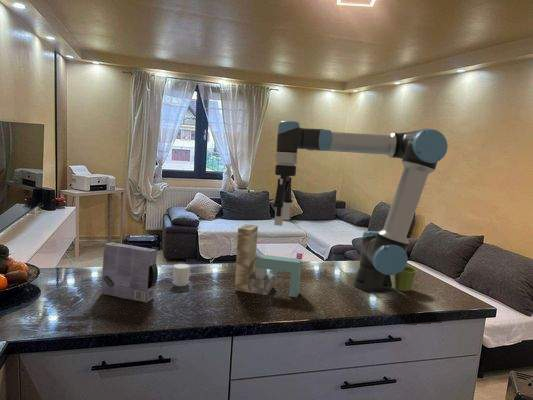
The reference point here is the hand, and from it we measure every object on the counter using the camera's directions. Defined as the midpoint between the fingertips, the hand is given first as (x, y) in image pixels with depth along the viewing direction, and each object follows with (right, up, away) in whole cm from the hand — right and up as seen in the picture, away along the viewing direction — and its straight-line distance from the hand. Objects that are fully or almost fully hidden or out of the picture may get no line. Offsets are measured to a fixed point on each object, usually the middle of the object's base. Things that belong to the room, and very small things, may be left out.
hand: (282, 222), depth 144 cm
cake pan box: (-53, -25, -10) cm, 59 cm away
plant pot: (+50, -28, +16) cm, 60 cm away
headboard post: (-11, -26, +5) cm, 28 cm away
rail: (-2, -26, +3) cm, 27 cm away
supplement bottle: (-13, -24, +20) cm, 34 cm away
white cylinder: (-39, -24, +6) cm, 46 cm away
